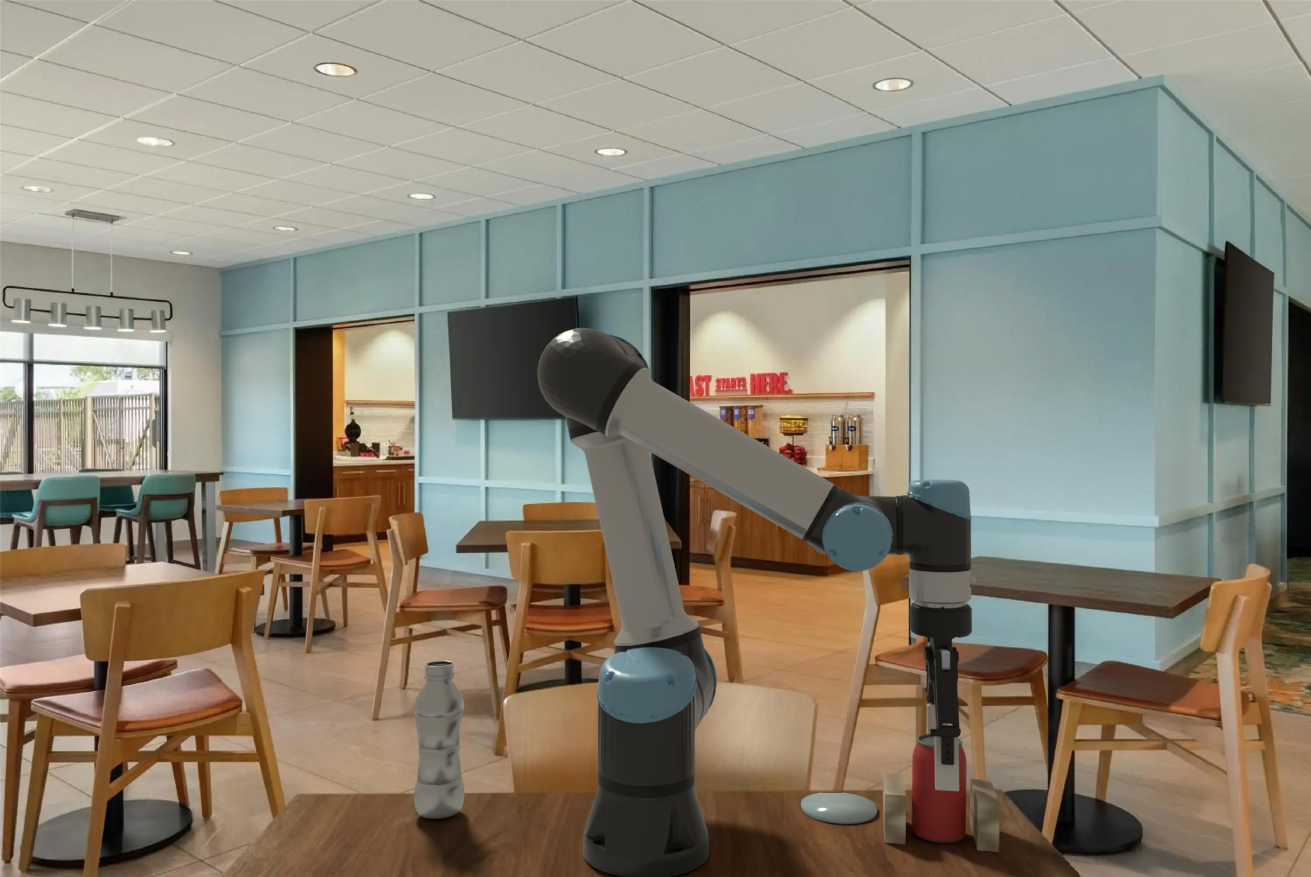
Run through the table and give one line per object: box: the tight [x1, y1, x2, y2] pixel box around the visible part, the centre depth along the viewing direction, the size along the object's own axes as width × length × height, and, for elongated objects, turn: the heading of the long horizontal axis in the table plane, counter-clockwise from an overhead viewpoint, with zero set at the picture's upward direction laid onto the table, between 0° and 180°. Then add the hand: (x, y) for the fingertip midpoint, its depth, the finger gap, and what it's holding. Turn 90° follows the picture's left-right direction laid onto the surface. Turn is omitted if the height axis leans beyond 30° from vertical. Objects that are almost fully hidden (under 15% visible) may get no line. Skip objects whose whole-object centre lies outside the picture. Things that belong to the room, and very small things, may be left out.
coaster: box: [800, 792, 878, 825], centre depth 137 cm, size 10×10×1 cm
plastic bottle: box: [413, 660, 466, 820], centre depth 134 cm, size 6×7×20 cm
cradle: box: [882, 772, 1000, 853], centre depth 128 cm, size 14×8×6 cm, turn 79°
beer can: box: [911, 733, 967, 844], centre depth 128 cm, size 7×7×12 cm
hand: (942, 771), depth 128 cm, fingers open, 13 cm apart
